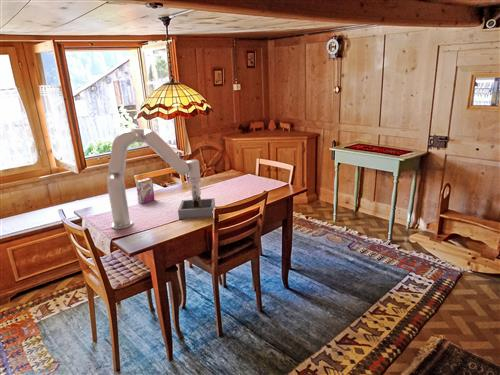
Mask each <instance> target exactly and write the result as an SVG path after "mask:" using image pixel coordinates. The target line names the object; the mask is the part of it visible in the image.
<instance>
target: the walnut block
mask: <svg viewBox="0 0 500 375" xmlns="http://www.w3.org/2000/svg"><path fill="white" fill-rule="evenodd" d="M201 199H202V198H201V196H200V197H198V202H199V207H194V204H193V209H196V208H202V207H201ZM191 200H192V203H193V198H192V199H191Z"/></svg>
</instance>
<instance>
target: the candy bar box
mask: <svg viewBox="0 0 500 375" xmlns="http://www.w3.org/2000/svg"><path fill="white" fill-rule="evenodd" d="M135 185H136V192H137V201H138V203H139V204H140V205H141V204H142V205H143V204H146V203H149V202H152V201H154V200H155V193H154V192H155V191H154V183H153V178H151V177H147V178H144V179H139V180H136V181H135Z"/></svg>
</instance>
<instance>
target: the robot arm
mask: <svg viewBox="0 0 500 375" xmlns="http://www.w3.org/2000/svg"><path fill="white" fill-rule="evenodd" d="M135 143H144V144H146V145H147V146H148V147H150V148H151V150H152V151H154V152H155V153H156V154H157V155H158V156H159V157H160V158H161V159H162V160H163V161H165V162H166V163H167V164H168V165H169V166H170V168H172V169H173V170H174V171H175V172H176V173H177V174H179V175H181V176H185V175H186V176H188V183H190V187H191V189H190V190H191V198H192V199H193V204H194V207H199V202H198V197H201V195H202V192H201V184H200V182H201V181H202V180H201V170H200V168H201V167H200V161H199V160H198V159H189V160H183V159H182V158H181V157H180V156H179V155H178V154H177V153H176V152H175V151H174V149H173V148H172V147H171V146H170V145H169V144H168V143H167V142H166V141H165V140H164V139H163V138H161V136H159V134H158V133H157V132H156V131H154V130H153V129H151V128H135V127H134V128H132V127H129V128H126V129H124V130H123V131H122V132H121V133H120V134H118V135H117V136H116V137H115V138H114V139H113V141H112V145H111V150H110V157H109V158H110V159H109V161H108V168H107V169H108V170H107V178H106V179H107V181H106V185H107V186H106V187H107V193H108V198H109V203H110V208H111V215H112V221H113V222H112V223H111V228H112V229H114V230H123V229H127V228H130V227H131V226H133V225H134V221H133V220H132V219H131V218H130V212H129V204H128V200H127V198H128V197H127V193H126V184H125V170H126V168H127V167H126V166H127V152H128V148H129V147H130V146H132V145H133V144H135ZM187 174H188V175H187Z"/></svg>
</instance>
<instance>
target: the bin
mask: <svg viewBox="0 0 500 375" xmlns="http://www.w3.org/2000/svg"><path fill="white" fill-rule="evenodd" d="M201 207H202V208H196V209H193V203H192V199H183V200H181V202H180V204H179V207H178V209H177V214H178V220H189V219H190V220H191V219H205V218H207V219H208V218H209V219H210V218H214V217H213V213H212V211H213V208H214V207H215V208H216V200H215V198H201Z"/></svg>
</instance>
